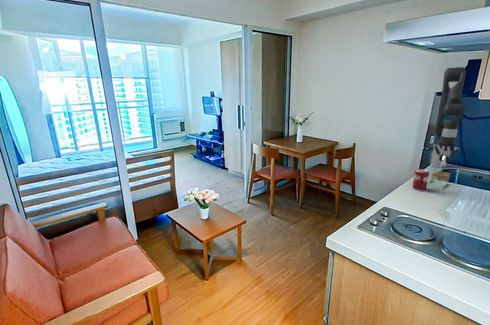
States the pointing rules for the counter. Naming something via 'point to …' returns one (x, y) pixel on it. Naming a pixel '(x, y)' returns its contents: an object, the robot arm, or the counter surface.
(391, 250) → the counter surface
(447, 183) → the tray
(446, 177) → the tan and green block
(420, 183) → the soda can
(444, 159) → the lock pin
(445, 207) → the counter surface
